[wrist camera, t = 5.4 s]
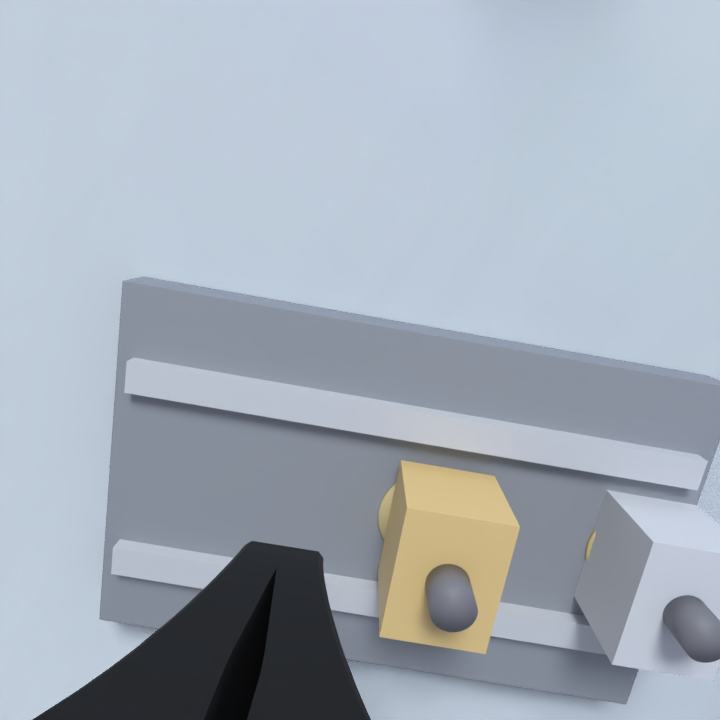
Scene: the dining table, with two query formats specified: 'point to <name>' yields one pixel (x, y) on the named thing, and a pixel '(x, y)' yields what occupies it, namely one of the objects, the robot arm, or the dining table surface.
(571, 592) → the gauge plate
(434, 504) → the slider
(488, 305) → the dining table surface
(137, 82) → the dining table surface
